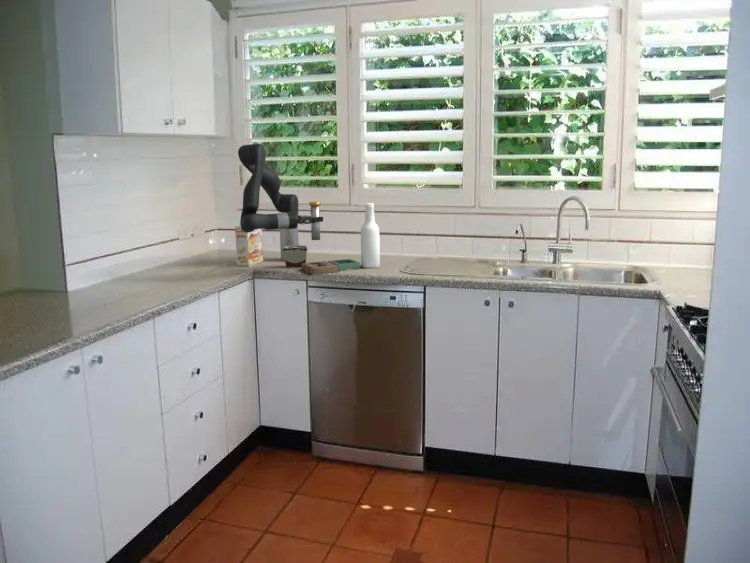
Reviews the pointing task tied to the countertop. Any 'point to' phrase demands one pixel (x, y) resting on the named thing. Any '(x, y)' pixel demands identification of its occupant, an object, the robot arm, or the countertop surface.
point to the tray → (346, 264)
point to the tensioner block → (319, 267)
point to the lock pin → (316, 226)
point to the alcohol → (370, 240)
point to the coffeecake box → (248, 247)
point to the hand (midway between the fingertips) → (320, 218)
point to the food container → (295, 255)
